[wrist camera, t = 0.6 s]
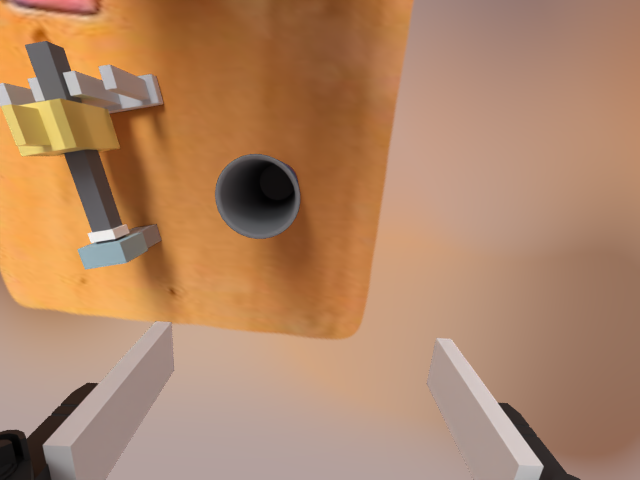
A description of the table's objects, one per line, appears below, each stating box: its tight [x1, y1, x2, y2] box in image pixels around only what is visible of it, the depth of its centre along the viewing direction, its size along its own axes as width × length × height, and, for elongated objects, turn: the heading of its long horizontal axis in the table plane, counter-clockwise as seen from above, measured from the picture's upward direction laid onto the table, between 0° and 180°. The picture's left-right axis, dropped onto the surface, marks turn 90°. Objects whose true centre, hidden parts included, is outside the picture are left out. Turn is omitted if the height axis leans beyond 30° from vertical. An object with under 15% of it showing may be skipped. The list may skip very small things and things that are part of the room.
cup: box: [215, 154, 300, 239], centre depth 32 cm, size 7×7×15 cm
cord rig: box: [0, 41, 164, 269], centre depth 34 cm, size 21×13×9 cm, turn 9°
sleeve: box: [1, 98, 120, 156], centre depth 29 cm, size 4×5×9 cm
